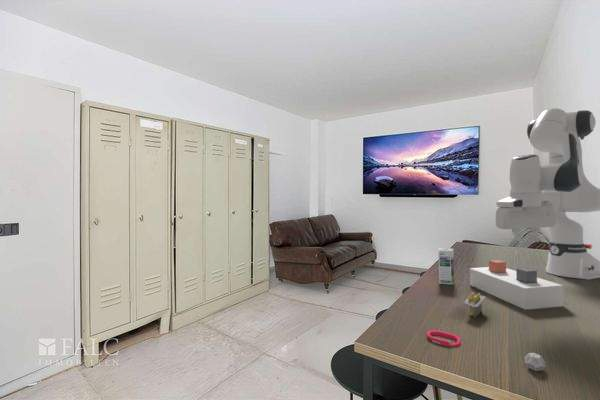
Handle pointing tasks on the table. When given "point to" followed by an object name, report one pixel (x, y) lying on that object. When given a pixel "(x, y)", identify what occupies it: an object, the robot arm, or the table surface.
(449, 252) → the syrup box
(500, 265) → the red plug
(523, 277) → the gray rectangular block
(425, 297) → the table surface
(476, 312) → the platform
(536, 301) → the block
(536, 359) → the grey irregular lump
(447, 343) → the fitness band
